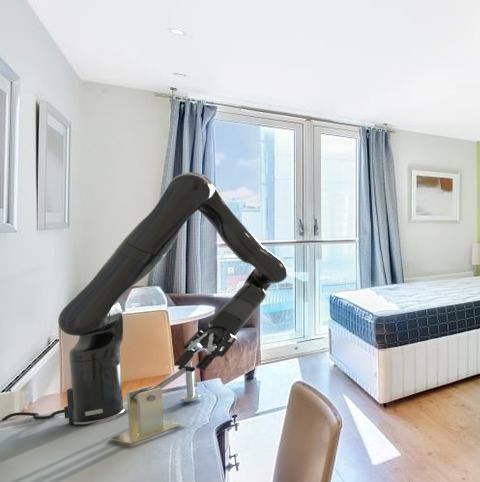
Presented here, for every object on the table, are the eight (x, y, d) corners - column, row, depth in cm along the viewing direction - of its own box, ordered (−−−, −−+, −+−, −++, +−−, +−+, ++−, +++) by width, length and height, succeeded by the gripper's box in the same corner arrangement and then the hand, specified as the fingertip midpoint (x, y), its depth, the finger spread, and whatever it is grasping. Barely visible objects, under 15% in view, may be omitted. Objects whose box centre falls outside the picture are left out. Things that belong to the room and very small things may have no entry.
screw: (199, 398, 131) (203, 402, 128) (178, 404, 127) (181, 408, 124) (197, 357, 130) (201, 360, 127) (175, 361, 126) (179, 364, 123)
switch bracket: (161, 424, 114) (159, 381, 114) (181, 428, 112) (178, 384, 111) (110, 442, 105) (107, 395, 104) (130, 448, 102) (127, 399, 102)
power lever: (185, 369, 118) (180, 362, 117) (197, 371, 116) (192, 364, 115) (135, 403, 108) (129, 396, 107) (147, 406, 106) (141, 399, 105)
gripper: (206, 308, 126) (159, 358, 116) (239, 311, 122) (194, 363, 112) (226, 321, 132) (184, 371, 121) (259, 325, 127) (218, 376, 117)
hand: (189, 367), depth 117 cm, fingers open, 8 cm apart
